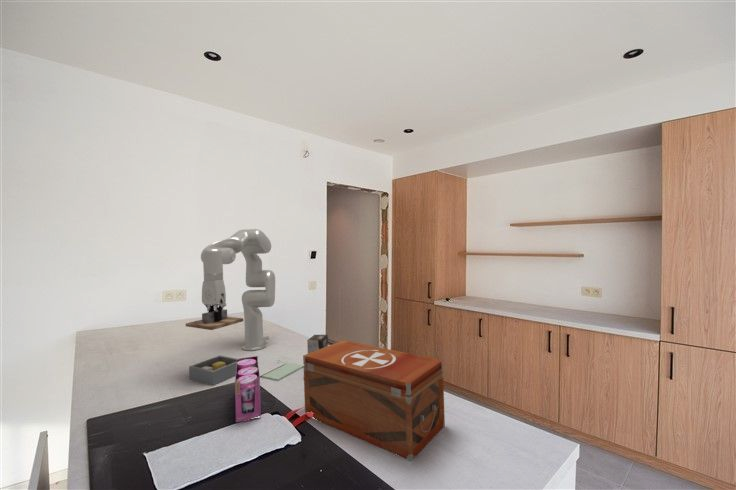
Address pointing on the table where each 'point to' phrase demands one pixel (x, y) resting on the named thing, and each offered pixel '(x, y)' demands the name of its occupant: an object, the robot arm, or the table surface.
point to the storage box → (213, 376)
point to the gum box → (247, 389)
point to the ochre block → (218, 365)
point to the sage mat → (282, 371)
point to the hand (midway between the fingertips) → (215, 320)
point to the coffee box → (317, 342)
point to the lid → (210, 323)
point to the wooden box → (376, 395)
